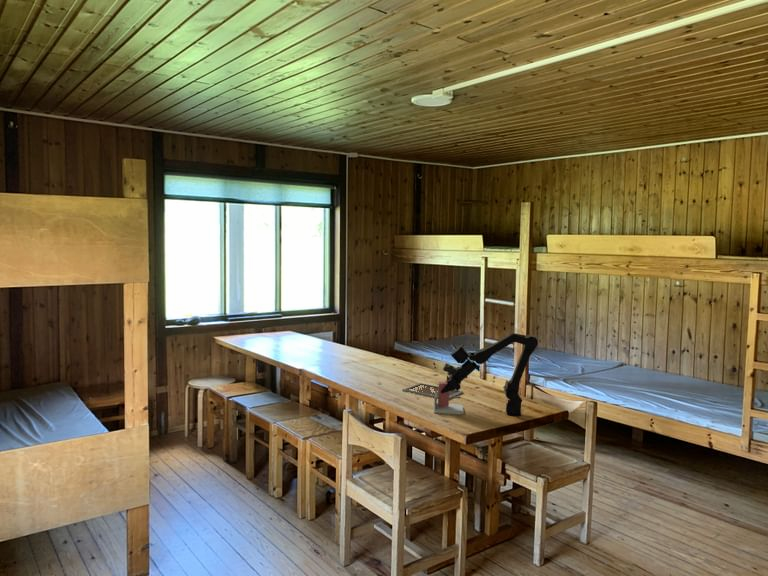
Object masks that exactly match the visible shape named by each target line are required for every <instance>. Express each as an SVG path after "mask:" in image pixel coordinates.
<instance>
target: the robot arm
mask: <svg viewBox="0 0 768 576" xmlns="http://www.w3.org/2000/svg"><path fill="white" fill-rule="evenodd" d="M513 343H518V344H520V345H521V353H520V355H519V358H518V360H517V363H516V365H515V367H514V371H513V373H512V376H511V378H510V379H509V380H505V385H504V386H503V394H504V395H505V397H506V398H507V402H506V403H505V413H506V414H507V416H515V417H516V416H517V417H521V416H522V402H523V399H522V397H521V396H520V394H519V393H520V392H519V390H520V382H521V380H522V376H523V375H524V372H525V370H526V367H527V364H528V361H529V359H530V356H531V355H532V354H533V353H534V352H535V350H536V348H537V347H538V344H539V341H538V338H537V337H535V336H534V335H533V334H526V335H525V334H522V333H521V334H520V333H515V332H510V333H509V334H507V335H506V336H504V337H502V338H501V339H499V340H497V341H496V342H494V343H492V344H491V345H489V346H487V347H483V348H480V349H477V350H476V351H475V352H467V350H465V348H464V347H462V345H460V346H459V347H457V348H455V349H454V350H453V351H452V352H451V353H450V357H452V358H453V360H455V361H456V363H457V364H461V365H460V366H457V367H455V366H453V365H452V364H450V363H447V362H445V364H444V366H443V367H442V371H444V372H446V373H447V375H446V380H445V382H447V384H446V385H445V387H444V388H443V389H442V390H441V393H445V392H449V391H452V390H457V391H458V390H459V391H460V390H461V383H462V382H463V381H464V380H465V379H468V376H469V375H470V374H472V373H473V372H475V370H476V371H477V372H480V371H481V370H480V368H481V365H483V364H485V363H486V362H487V361H488V360H489V359H491V357H492V356H494V355H495V354H496V353H497V352H500V351H501V350H503V349H505V348H507V347H508V346H509V345H512V344H513Z"/></svg>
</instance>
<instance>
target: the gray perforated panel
mask: <svg viewBox="0 0 768 576" xmlns="http://www.w3.org/2000/svg"><path fill="white" fill-rule="evenodd" d="M420 385H424V388H423V387H422V390H421V388H420V390H419V387H418V386H420ZM425 386H427V387H426V388H425ZM415 387H418V390H417V392H416V391H411V390H409V389H413V388H415ZM430 387H433V388H434V391H439V385H433V384H428V383H423V382H418V383H415V384H413V385H411V386H407V387H405V388H402V390H401V391H402V392H404V391H405V393H408V392H410V393H409V394H413V393H415V394H414V395H418V394H419V396H422V395H423V396H422V397H427V396H428V398H432V397H433V398H432V399H435V393H434V392H433V393H432V392H431V390H430ZM433 388H432V389H433ZM414 390H415V389H414ZM418 391H419V392H418ZM422 391H423V392H422ZM431 394H432V395H431ZM458 395H459V396H458ZM461 395H464V391H463V390H460V389H459V390H458V391H457V390H452V391H449V401H450V400H452V399H460V398H461ZM437 400H438V392H437Z"/></svg>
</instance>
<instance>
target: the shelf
mask: <svg viewBox="0 0 768 576" xmlns="http://www.w3.org/2000/svg"><path fill="white" fill-rule="evenodd" d="M433 399H434V402H433V413H434V414H445V415H446V414H447V415H460V414H464V415H465V411H464V408H463V407H464V406H463V404H457V403H449V406H438V399H437V391H435V398H433Z"/></svg>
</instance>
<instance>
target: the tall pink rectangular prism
mask: <svg viewBox="0 0 768 576" xmlns="http://www.w3.org/2000/svg"><path fill="white" fill-rule="evenodd" d="M446 384H447V382H446V381H438V386H439V391H438V399H437V403H438V406H449V404H450V403H449V402H450V400H449V392H445V393H441V390H442V389H443V388H444V387H445V385H446Z"/></svg>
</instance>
